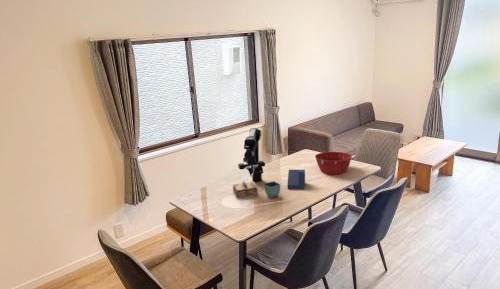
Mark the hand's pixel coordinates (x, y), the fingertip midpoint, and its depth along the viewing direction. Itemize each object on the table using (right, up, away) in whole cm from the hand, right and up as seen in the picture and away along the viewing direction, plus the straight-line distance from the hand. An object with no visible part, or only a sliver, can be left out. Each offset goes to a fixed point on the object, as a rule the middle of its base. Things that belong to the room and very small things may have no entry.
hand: (252, 176), depth 261 cm
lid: (-5, -8, 0) cm, 9 cm away
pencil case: (-5, -12, +1) cm, 13 cm away
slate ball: (0, -12, 0) cm, 12 cm away
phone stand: (+33, -9, +7) cm, 35 cm away
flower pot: (+14, -13, -7) cm, 21 cm away
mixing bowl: (+66, -1, +31) cm, 73 cm away
